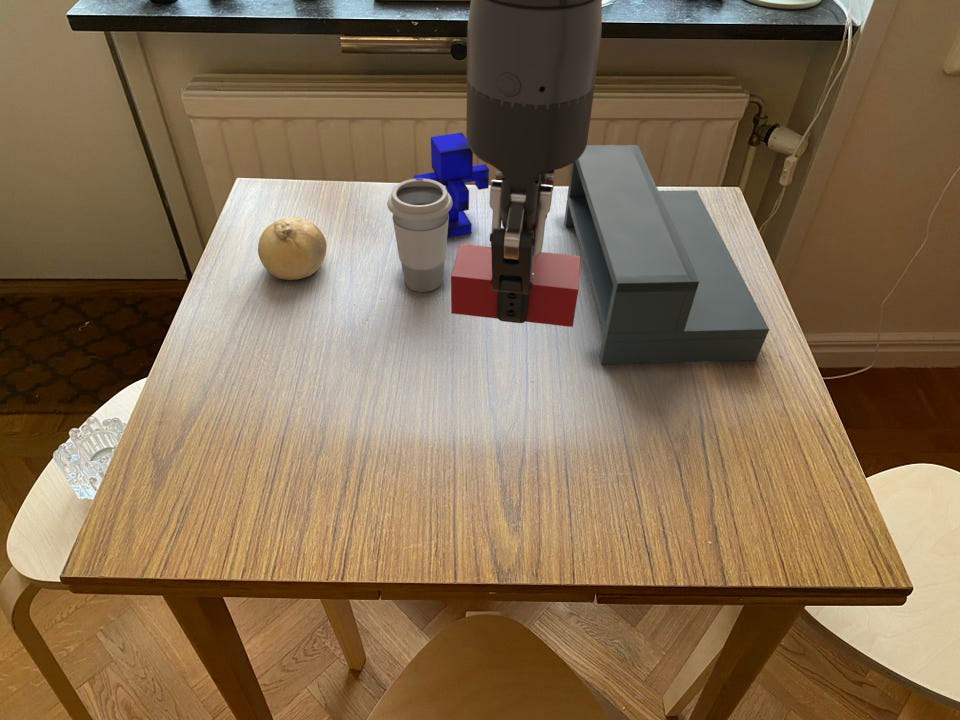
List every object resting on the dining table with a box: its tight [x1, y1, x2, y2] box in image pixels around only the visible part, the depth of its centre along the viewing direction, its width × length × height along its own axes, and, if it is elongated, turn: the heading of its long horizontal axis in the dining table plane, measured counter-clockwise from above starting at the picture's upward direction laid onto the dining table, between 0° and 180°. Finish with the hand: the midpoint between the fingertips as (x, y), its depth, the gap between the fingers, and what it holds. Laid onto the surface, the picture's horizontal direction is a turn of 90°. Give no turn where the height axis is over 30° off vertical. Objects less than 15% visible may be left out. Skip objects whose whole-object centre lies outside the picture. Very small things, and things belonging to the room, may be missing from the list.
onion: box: [257, 217, 328, 281], centre depth 83 cm, size 8×8×7 cm
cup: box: [386, 178, 453, 293], centre depth 81 cm, size 7×7×12 cm
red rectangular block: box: [450, 243, 582, 328], centre depth 52 cm, size 9×4×4 cm, turn 82°
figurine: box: [413, 131, 490, 238], centre depth 89 cm, size 8×8×12 cm
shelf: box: [564, 144, 770, 365], centre depth 81 cm, size 27×17×11 cm, turn 4°
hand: (515, 298), depth 53 cm, fingers closed on red rectangular block, 4 cm apart
